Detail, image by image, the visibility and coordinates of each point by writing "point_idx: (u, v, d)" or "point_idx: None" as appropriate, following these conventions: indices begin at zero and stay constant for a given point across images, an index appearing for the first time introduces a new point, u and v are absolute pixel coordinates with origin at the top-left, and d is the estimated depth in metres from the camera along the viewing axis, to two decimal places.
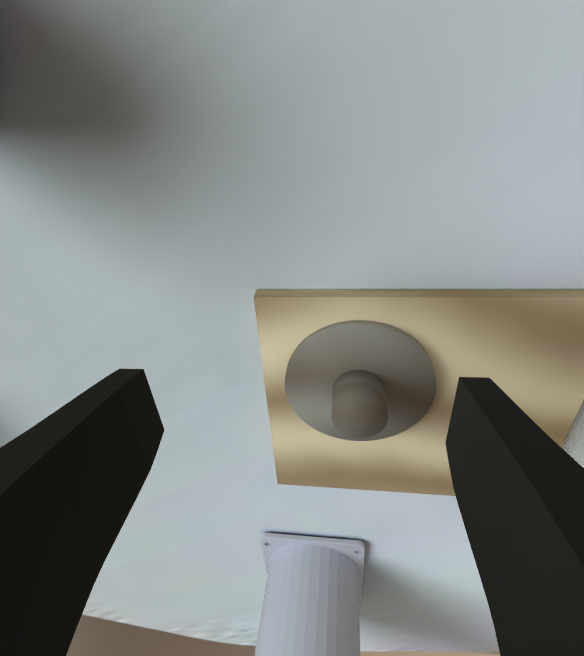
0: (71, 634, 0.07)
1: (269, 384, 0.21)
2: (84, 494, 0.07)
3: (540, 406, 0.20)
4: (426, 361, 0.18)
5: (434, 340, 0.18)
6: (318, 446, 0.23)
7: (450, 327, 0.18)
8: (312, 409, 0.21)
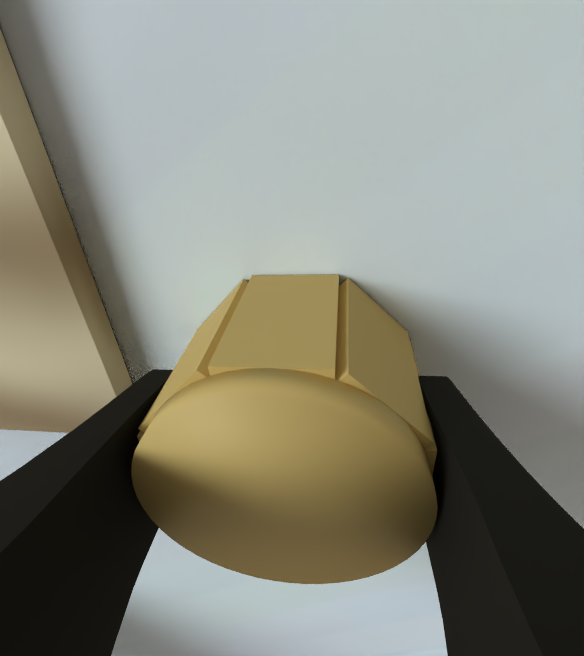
0: (113, 640, 0.07)
1: None
2: (125, 497, 0.07)
3: None
4: None
5: None
6: None
7: None
8: None
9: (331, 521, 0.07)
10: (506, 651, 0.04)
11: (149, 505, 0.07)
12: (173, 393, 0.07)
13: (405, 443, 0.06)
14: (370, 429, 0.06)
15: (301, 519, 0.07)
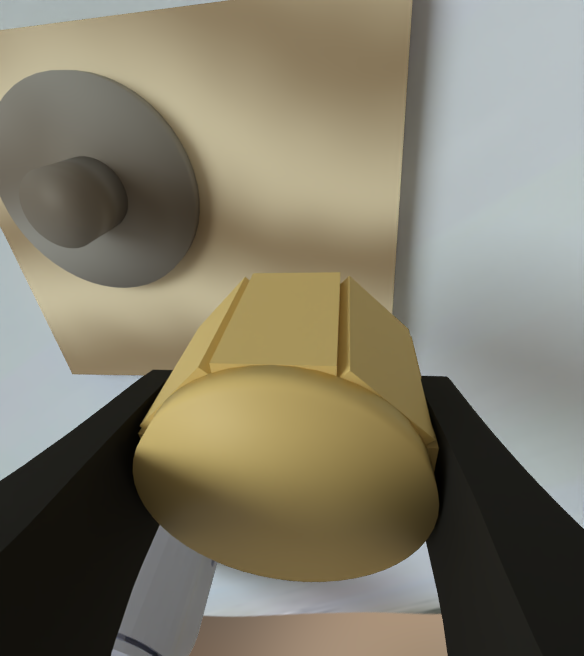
0: (113, 639, 0.07)
1: None
2: (125, 497, 0.07)
3: (346, 212, 0.14)
4: (159, 129, 0.13)
5: (171, 99, 0.13)
6: (96, 308, 0.18)
7: (183, 71, 0.12)
8: None
9: (332, 519, 0.07)
10: (506, 651, 0.04)
11: (150, 502, 0.07)
12: (174, 390, 0.07)
13: (406, 440, 0.06)
14: (372, 426, 0.06)
15: (303, 517, 0.07)
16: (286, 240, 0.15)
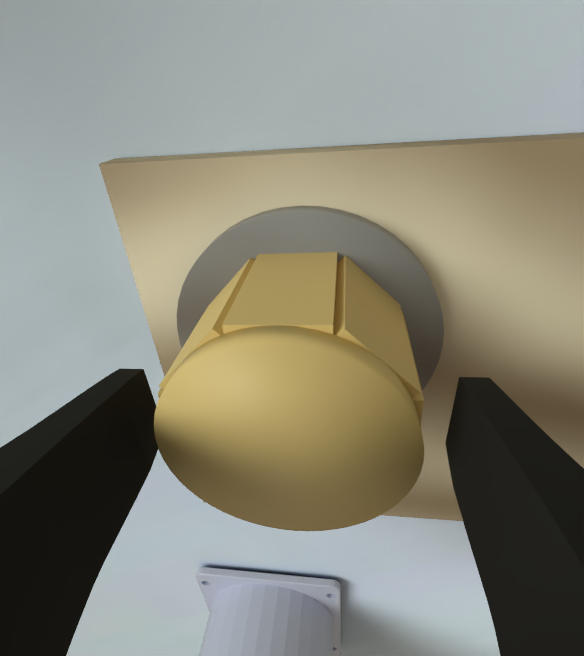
0: (71, 634, 0.07)
1: (161, 341, 0.13)
2: (84, 494, 0.07)
3: None
4: (424, 284, 0.10)
5: (439, 244, 0.10)
6: None
7: (470, 214, 0.09)
8: None
9: (331, 466, 0.08)
10: None
11: (168, 455, 0.08)
12: (191, 351, 0.07)
13: (394, 388, 0.07)
14: (363, 375, 0.07)
15: (304, 465, 0.08)
16: (533, 395, 0.12)
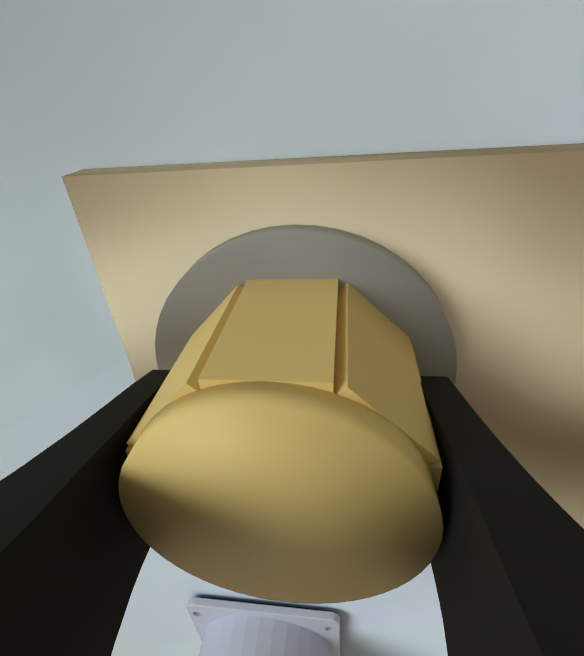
0: (113, 639, 0.07)
1: (140, 371, 0.11)
2: None
3: None
4: (436, 314, 0.09)
5: (453, 269, 0.09)
6: None
7: (489, 235, 0.08)
8: None
9: (330, 541, 0.07)
10: (506, 651, 0.04)
11: (138, 523, 0.07)
12: (162, 407, 0.06)
13: (407, 463, 0.05)
14: (371, 447, 0.05)
15: (298, 539, 0.07)
16: (555, 432, 0.11)
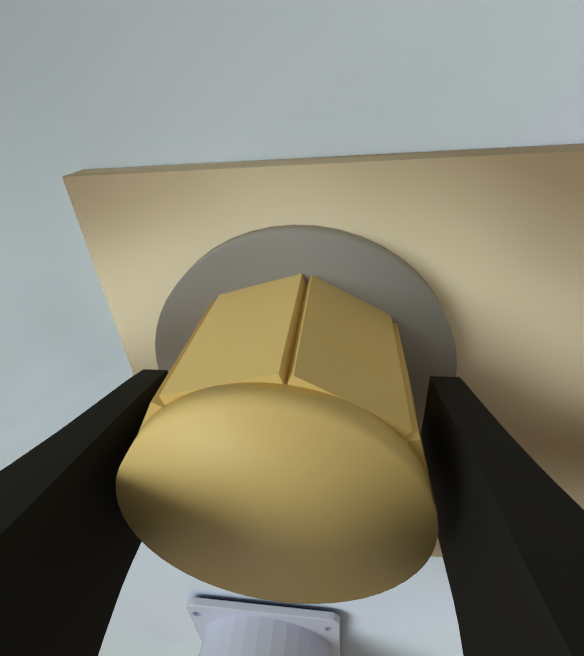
0: (101, 638, 0.07)
1: None
2: (113, 496, 0.07)
3: None
4: (436, 314, 0.09)
5: (453, 269, 0.09)
6: None
7: (489, 235, 0.08)
8: None
9: (312, 508, 0.06)
10: (531, 654, 0.04)
11: (229, 587, 0.08)
12: None
13: (217, 410, 0.05)
14: (184, 425, 0.05)
15: (297, 523, 0.06)
16: (555, 432, 0.11)
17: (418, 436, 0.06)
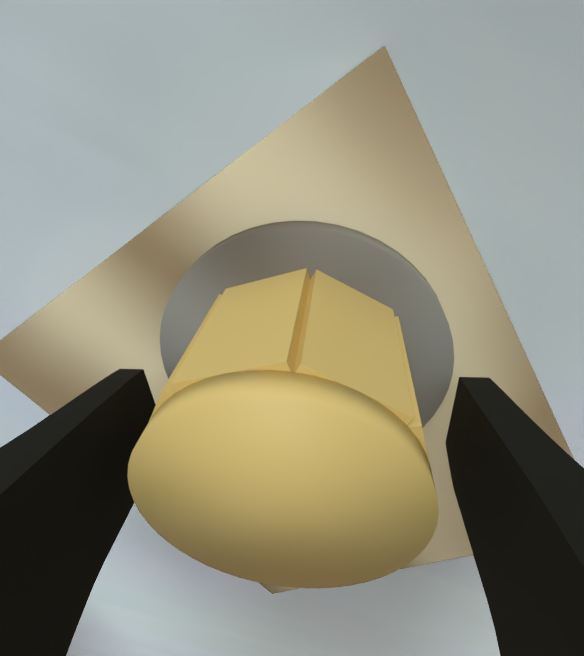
0: (71, 634, 0.07)
1: (176, 220, 0.09)
2: (84, 494, 0.07)
3: None
4: None
5: (449, 406, 0.11)
6: None
7: None
8: None
9: (317, 491, 0.06)
10: None
11: (235, 572, 0.08)
12: None
13: (228, 396, 0.06)
14: (196, 411, 0.06)
15: (303, 507, 0.07)
16: None
17: (420, 423, 0.06)
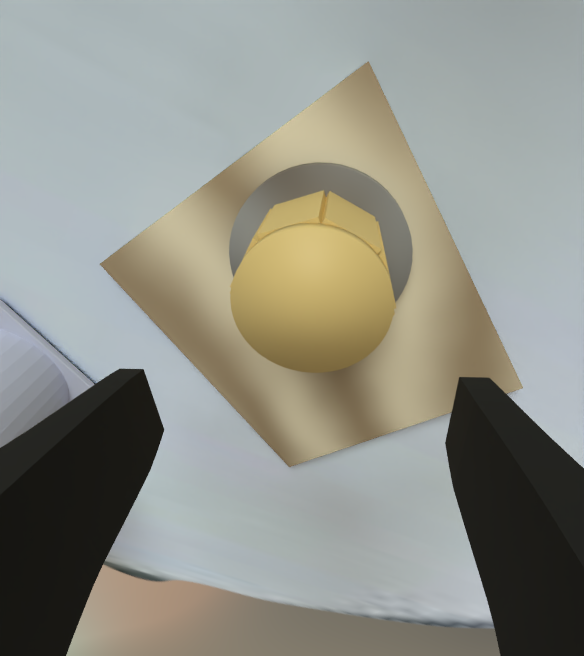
0: (71, 634, 0.07)
1: (245, 162, 0.15)
2: (84, 494, 0.07)
3: (389, 406, 0.21)
4: None
5: (413, 291, 0.17)
6: (199, 272, 0.18)
7: (435, 294, 0.17)
8: None
9: (332, 291, 0.12)
10: None
11: (282, 363, 0.14)
12: None
13: (291, 230, 0.12)
14: (274, 240, 0.12)
15: (324, 304, 0.13)
16: (352, 383, 0.20)
17: (384, 253, 0.12)
